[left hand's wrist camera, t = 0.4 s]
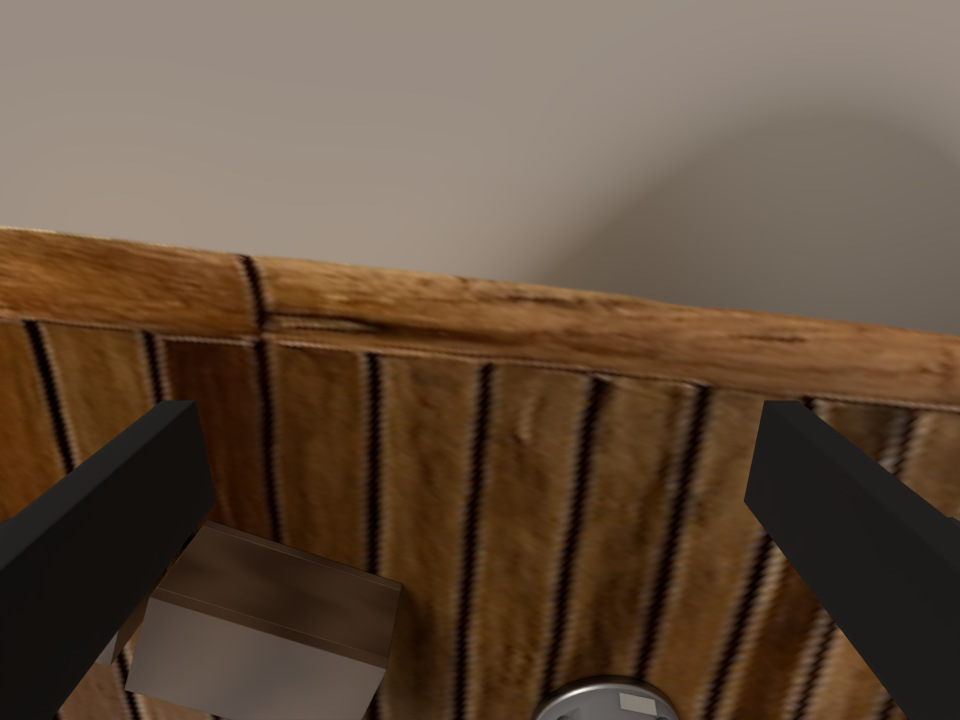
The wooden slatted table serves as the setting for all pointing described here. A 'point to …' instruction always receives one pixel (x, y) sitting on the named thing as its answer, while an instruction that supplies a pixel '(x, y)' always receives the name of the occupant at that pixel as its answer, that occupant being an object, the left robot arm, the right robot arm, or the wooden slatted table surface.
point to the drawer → (128, 627)
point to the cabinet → (264, 632)
